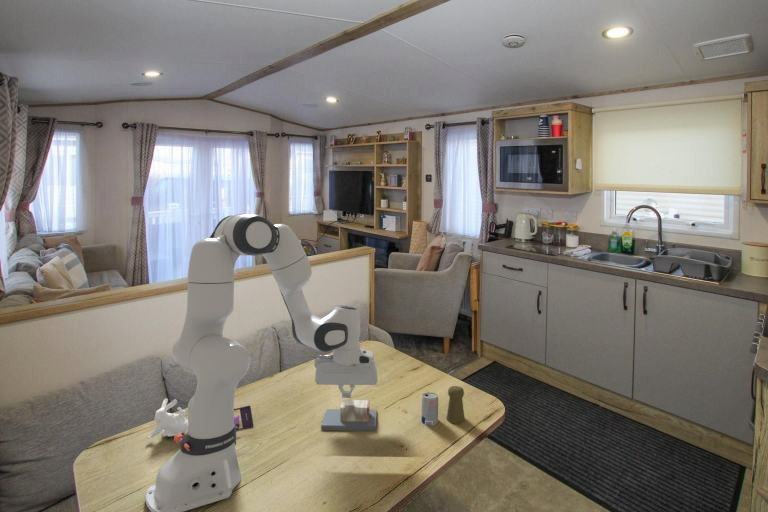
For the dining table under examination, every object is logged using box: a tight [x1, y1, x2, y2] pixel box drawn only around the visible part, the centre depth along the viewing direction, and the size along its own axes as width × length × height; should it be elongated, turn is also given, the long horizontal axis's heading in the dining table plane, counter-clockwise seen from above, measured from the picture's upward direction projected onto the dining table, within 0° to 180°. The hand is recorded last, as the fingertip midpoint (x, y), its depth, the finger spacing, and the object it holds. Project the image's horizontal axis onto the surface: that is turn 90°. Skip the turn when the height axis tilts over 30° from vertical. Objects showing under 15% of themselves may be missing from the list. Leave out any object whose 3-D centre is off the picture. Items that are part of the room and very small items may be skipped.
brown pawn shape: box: [446, 385, 466, 425], centre depth 139 cm, size 6×6×11 cm
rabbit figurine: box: [146, 398, 188, 439], centre depth 131 cm, size 12×8×10 cm, turn 100°
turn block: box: [339, 399, 370, 422], centre depth 138 cm, size 4×6×9 cm
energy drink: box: [421, 391, 439, 427], centre depth 138 cm, size 5×5×12 cm
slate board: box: [320, 408, 378, 431], centre depth 138 cm, size 17×12×2 cm
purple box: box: [234, 405, 254, 431], centre depth 135 cm, size 7×5×9 cm
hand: (346, 397), depth 138 cm, fingers closed
